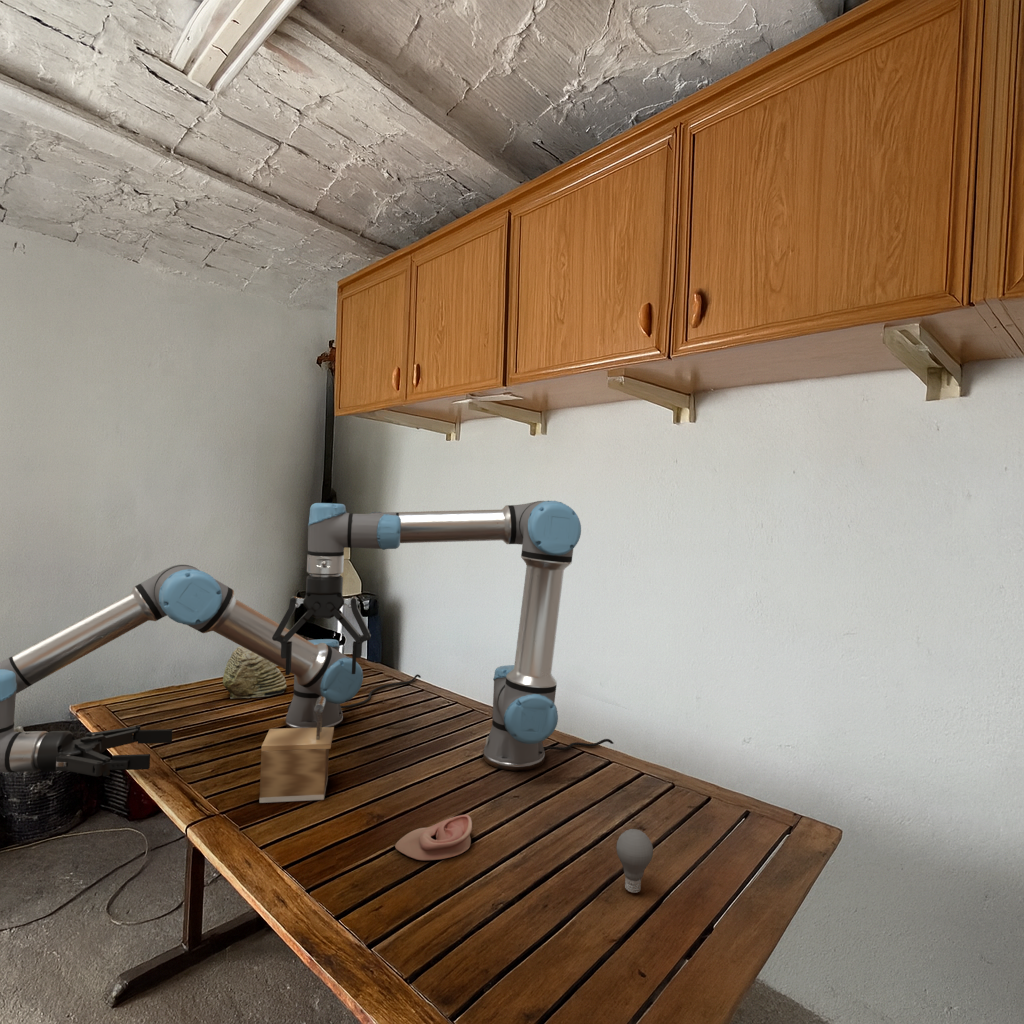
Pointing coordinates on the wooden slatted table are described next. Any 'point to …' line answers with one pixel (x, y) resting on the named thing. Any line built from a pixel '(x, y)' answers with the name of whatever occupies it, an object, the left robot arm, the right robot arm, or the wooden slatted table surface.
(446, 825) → the anatomical model
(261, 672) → the fossil
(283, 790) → the chest
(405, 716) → the wooden slatted table surface
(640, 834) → the light bulb
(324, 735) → the lid
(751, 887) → the wooden slatted table surface
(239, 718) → the wooden slatted table surface
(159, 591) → the left robot arm
